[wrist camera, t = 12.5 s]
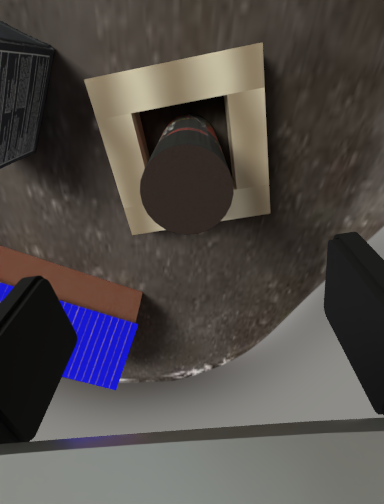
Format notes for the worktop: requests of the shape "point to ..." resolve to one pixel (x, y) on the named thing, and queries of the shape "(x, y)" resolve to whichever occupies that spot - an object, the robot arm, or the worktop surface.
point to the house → (83, 315)
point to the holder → (177, 92)
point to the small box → (21, 92)
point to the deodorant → (187, 178)
